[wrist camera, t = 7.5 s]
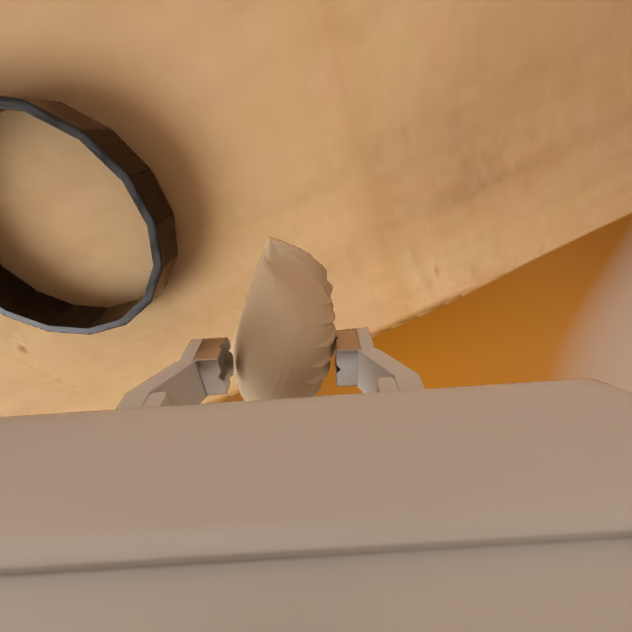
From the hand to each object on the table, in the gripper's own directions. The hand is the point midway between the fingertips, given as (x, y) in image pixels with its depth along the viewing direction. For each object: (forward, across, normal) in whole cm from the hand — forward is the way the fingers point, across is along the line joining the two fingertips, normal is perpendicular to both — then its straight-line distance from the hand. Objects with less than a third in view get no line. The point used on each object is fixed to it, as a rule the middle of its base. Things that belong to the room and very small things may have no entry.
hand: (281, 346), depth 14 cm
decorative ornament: (+2, 0, 0) cm, 3 cm away
